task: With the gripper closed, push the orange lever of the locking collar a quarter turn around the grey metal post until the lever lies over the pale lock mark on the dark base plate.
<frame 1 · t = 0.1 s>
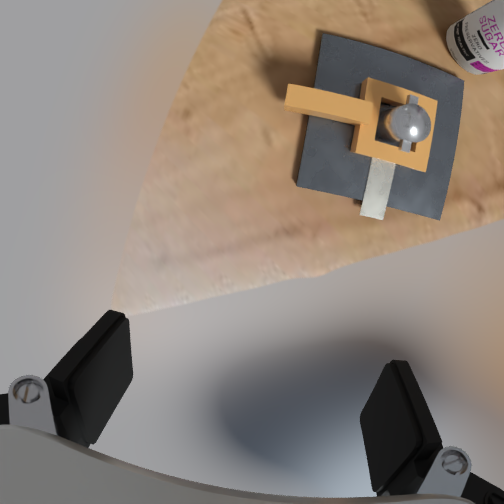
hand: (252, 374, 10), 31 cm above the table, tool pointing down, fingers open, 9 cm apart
collar: (363, 114, 31), point 4 cm above the table, hinge at 0.0°
supplement can: (466, 49, 29), on the table
base plate: (387, 126, 35), on the table
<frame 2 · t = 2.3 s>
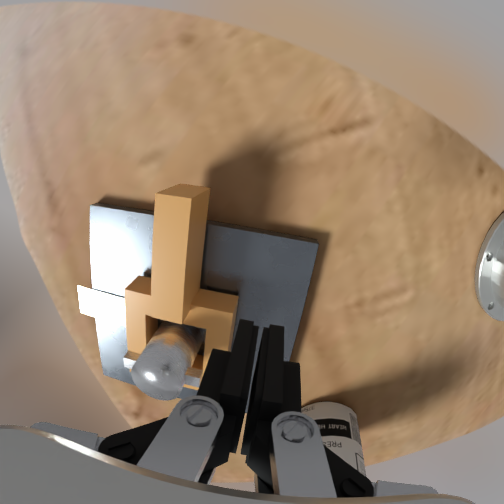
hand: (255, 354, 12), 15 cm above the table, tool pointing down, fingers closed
collar: (177, 301, 24), point 4 cm above the table, hinge at 0.0°
supplement can: (321, 419, 33), on the table
base plate: (189, 320, 29), on the table
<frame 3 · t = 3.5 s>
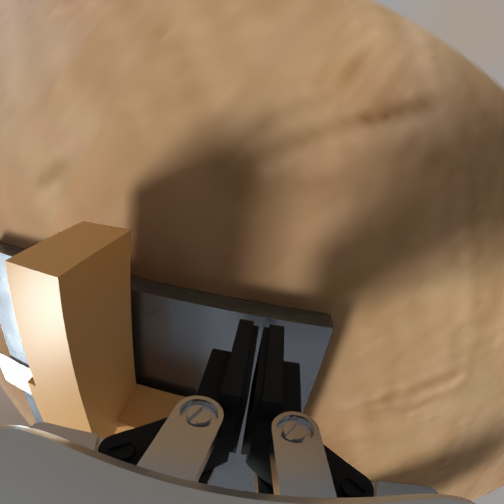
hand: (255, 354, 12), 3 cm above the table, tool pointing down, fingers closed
collar: (98, 411, 13), point 4 cm above the table, hinge at 0.0°
base plate: (134, 409, 18), on the table
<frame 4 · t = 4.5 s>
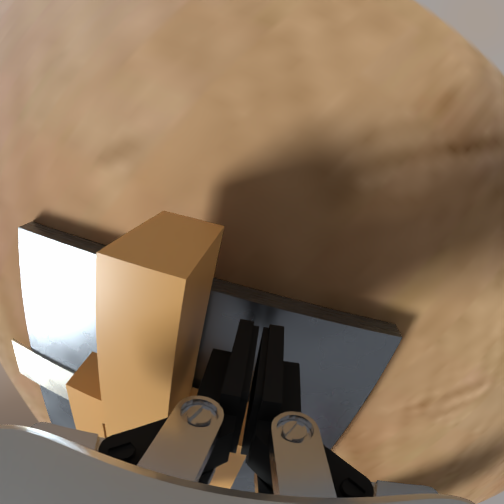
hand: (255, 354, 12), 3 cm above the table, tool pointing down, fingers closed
collar: (153, 417, 12), point 4 cm above the table, hinge at 0.5°, touching gripper
base plate: (172, 411, 18), on the table
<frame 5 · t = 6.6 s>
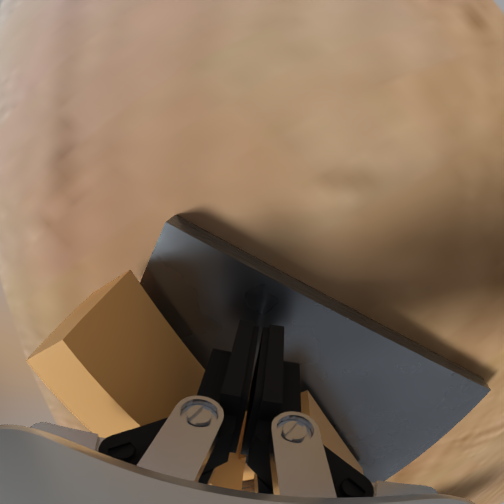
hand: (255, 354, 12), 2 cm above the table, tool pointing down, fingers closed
collar: (219, 459, 12), point 4 cm above the table, hinge at 58.4°, touching gripper
base plate: (267, 439, 17), on the table
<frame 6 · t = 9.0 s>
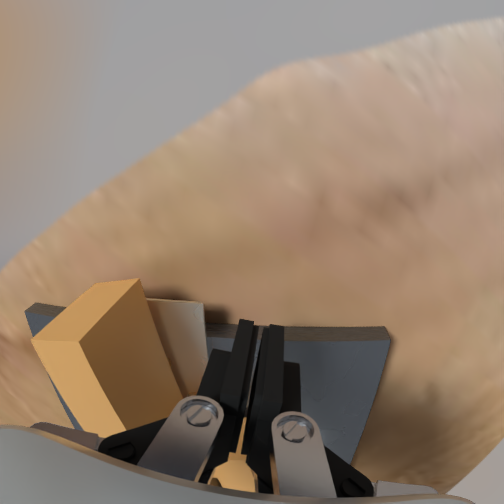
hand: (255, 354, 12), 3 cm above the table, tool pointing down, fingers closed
collar: (162, 452, 13), point 4 cm above the table, hinge at 99.4°
base plate: (201, 442, 18), on the table
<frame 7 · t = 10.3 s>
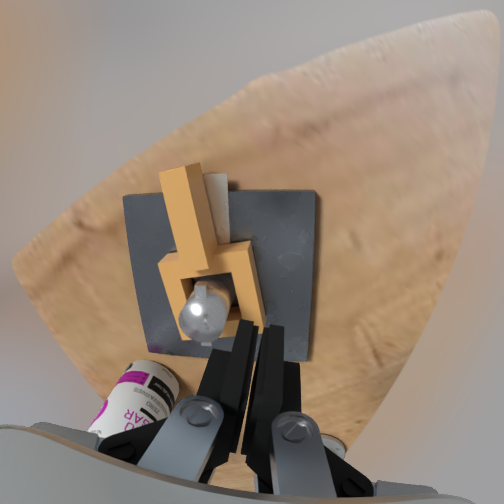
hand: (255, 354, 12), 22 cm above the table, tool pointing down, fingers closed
collar: (201, 258, 30), point 4 cm above the table, hinge at 99.4°
supplement can: (154, 378, 42), on the table
base plate: (219, 281, 35), on the table
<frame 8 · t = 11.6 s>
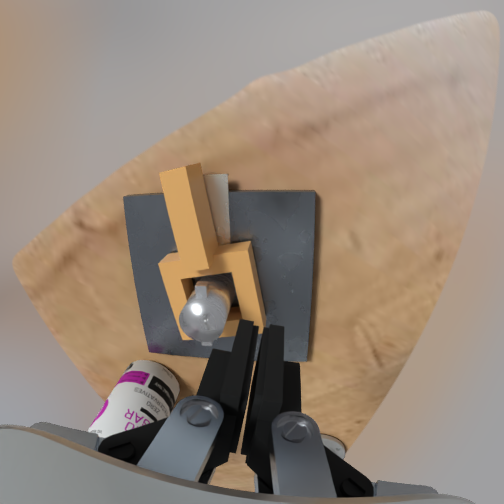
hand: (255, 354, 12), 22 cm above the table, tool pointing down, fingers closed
collar: (202, 258, 30), point 4 cm above the table, hinge at 99.4°
supplement can: (154, 378, 42), on the table
base plate: (220, 281, 35), on the table
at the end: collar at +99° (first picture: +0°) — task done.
